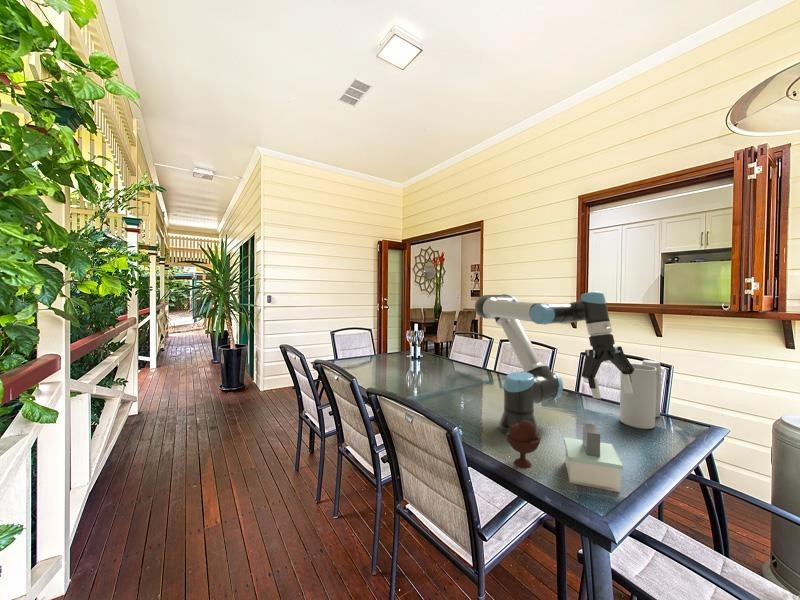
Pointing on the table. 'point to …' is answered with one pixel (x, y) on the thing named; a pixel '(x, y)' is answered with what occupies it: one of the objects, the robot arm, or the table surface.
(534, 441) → the ice cream bowl
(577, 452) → the lid
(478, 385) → the table surface
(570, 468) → the crate
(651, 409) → the cylinder vase
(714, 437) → the table surface
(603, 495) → the table surface
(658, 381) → the water bottle
